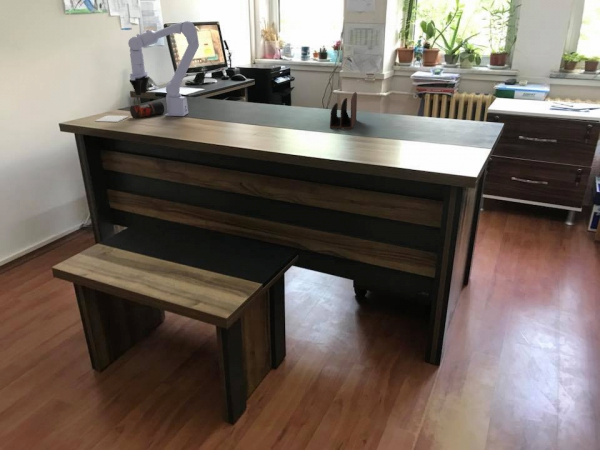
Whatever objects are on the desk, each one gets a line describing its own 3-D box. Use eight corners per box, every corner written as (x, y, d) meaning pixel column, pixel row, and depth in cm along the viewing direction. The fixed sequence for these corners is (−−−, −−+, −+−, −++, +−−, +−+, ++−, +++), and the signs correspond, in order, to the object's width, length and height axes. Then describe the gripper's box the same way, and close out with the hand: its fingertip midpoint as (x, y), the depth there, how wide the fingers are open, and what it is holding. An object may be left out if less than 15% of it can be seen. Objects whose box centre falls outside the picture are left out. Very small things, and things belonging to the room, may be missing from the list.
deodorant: (132, 103, 233) (160, 99, 242) (128, 109, 237) (156, 105, 247) (137, 114, 233) (165, 110, 242) (133, 120, 237) (161, 115, 247)
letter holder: (356, 120, 235) (357, 90, 230) (351, 130, 218) (353, 97, 212) (335, 119, 237) (336, 89, 232) (329, 128, 220) (330, 96, 214)
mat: (128, 116, 239) (128, 116, 239) (117, 122, 228) (117, 121, 228) (107, 116, 240) (107, 115, 240) (94, 121, 229) (94, 120, 229)
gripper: (136, 62, 239) (139, 91, 244) (122, 65, 226) (126, 96, 231) (150, 62, 238) (153, 91, 244) (137, 66, 225) (140, 96, 230)
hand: (141, 93), depth 237 cm, fingers open, 5 cm apart
